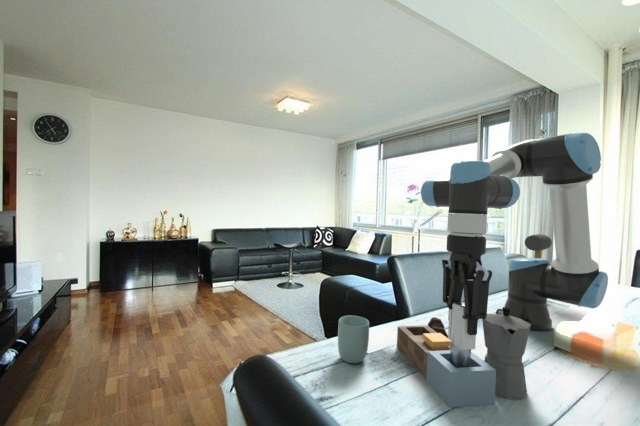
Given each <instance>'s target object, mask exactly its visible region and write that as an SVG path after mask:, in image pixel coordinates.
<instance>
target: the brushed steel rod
mask: <svg viewBox="0 0 640 426" xmlns="http://www.w3.org/2000/svg"><path fill="white" fill-rule="evenodd" d="M471 313H472V312H471ZM463 315H465V301H464V302H462V301H461V302H453V306H452V327H451V348H450V363H451V364H452V365H453V366H454V367H455V368H464V367H470V363H471V352H472V349H468V350H463V349H462V348H461V338H462V316H463Z"/></svg>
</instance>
